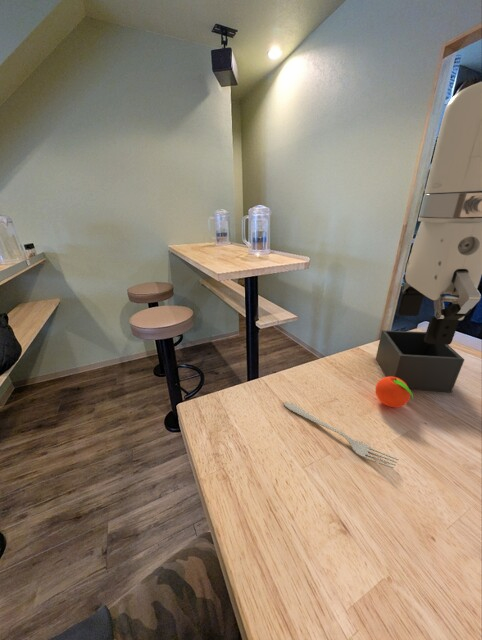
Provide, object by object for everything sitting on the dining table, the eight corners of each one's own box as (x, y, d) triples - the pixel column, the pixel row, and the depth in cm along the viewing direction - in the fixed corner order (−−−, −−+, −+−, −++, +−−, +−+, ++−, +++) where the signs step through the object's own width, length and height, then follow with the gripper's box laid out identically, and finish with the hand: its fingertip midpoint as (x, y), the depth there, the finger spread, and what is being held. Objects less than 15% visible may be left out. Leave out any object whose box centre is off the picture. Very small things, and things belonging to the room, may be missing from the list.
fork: (288, 399, 62) (288, 394, 61) (397, 464, 46) (399, 457, 45) (280, 406, 60) (280, 401, 59) (391, 476, 44) (393, 470, 43)
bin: (424, 361, 74) (434, 332, 70) (451, 392, 62) (464, 359, 58) (375, 358, 77) (381, 330, 72) (391, 388, 64) (400, 355, 60)
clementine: (417, 409, 58) (425, 385, 55) (399, 421, 55) (407, 396, 52) (384, 389, 64) (390, 366, 61) (366, 399, 61) (372, 376, 58)
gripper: (553, 209, 24) (486, 360, 31) (449, 206, 39) (420, 307, 47) (464, 212, 25) (419, 356, 32) (397, 208, 41) (377, 306, 48)
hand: (420, 327), depth 39 cm, fingers open, 9 cm apart
